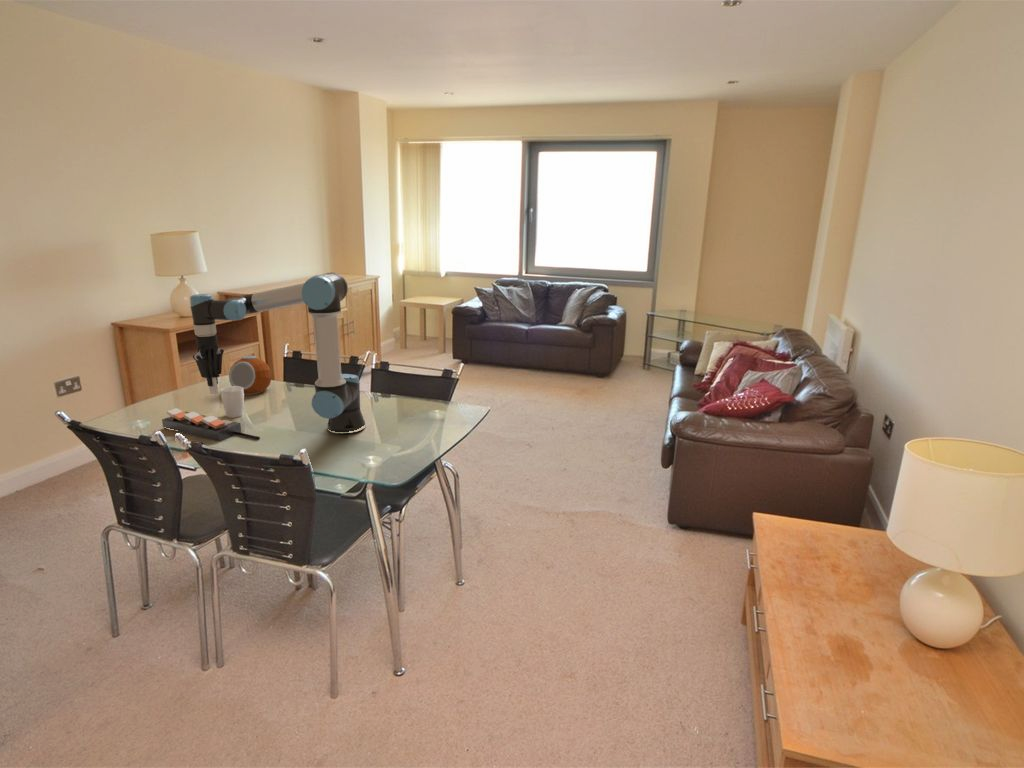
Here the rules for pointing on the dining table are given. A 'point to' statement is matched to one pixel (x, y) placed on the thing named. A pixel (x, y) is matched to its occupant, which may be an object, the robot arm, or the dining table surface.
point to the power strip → (206, 429)
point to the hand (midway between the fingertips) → (214, 393)
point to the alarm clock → (250, 375)
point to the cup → (233, 400)
